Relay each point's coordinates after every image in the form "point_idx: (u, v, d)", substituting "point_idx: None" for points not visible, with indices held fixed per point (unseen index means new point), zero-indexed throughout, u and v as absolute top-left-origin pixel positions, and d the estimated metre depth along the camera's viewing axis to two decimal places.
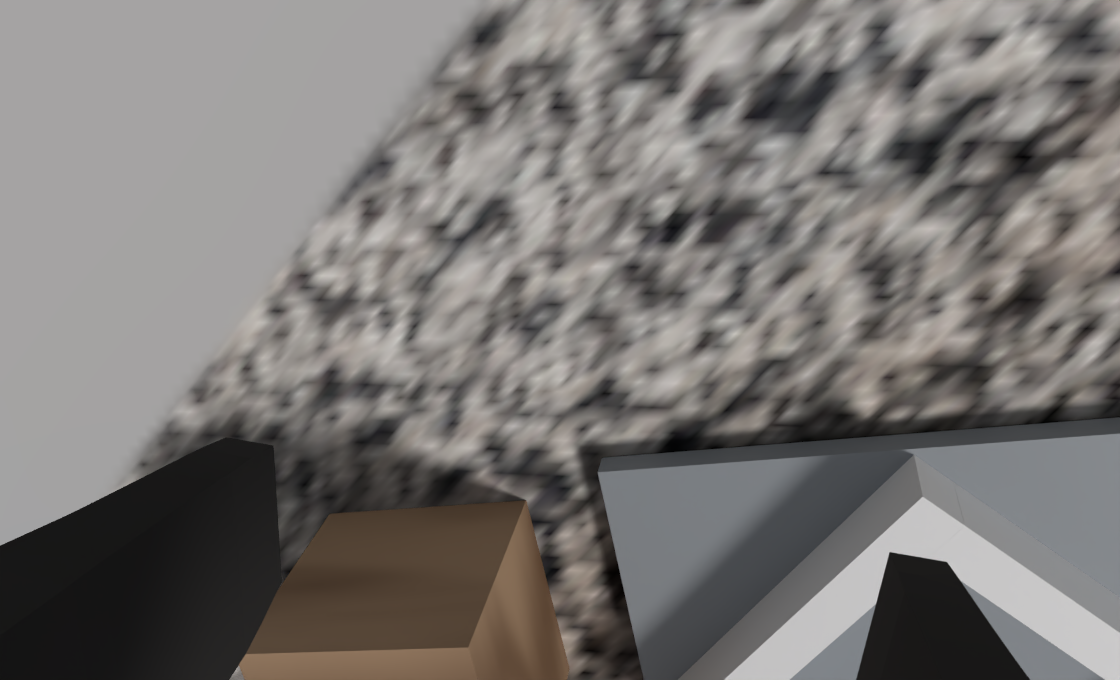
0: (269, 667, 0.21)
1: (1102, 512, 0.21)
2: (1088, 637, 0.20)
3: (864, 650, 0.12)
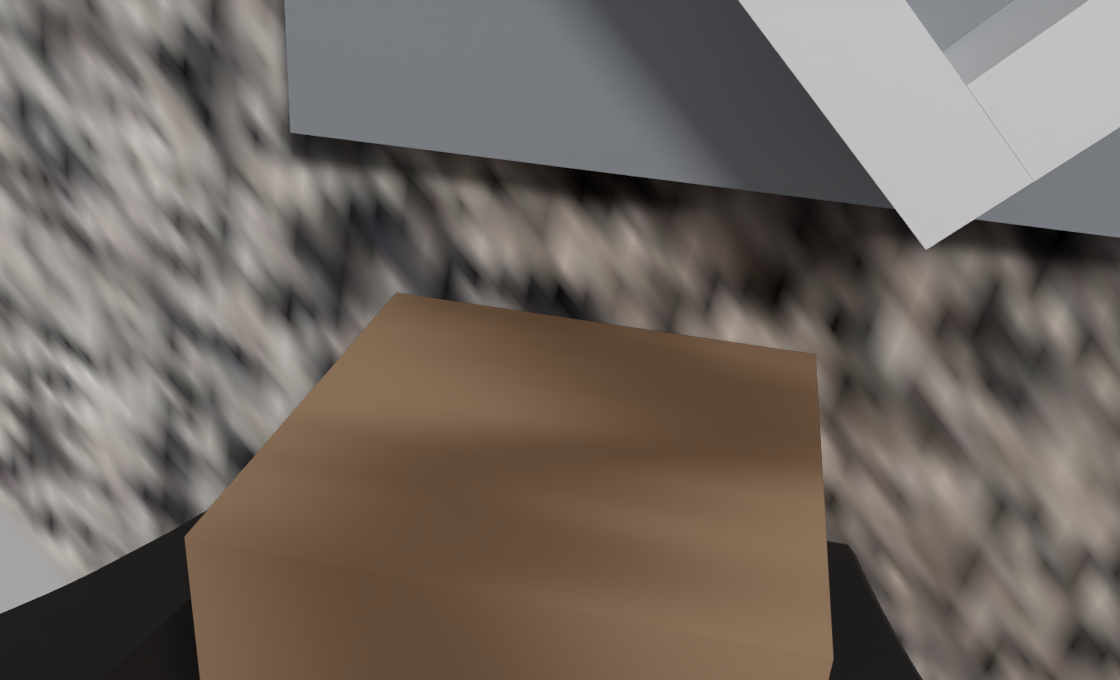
0: None
1: None
2: None
3: None
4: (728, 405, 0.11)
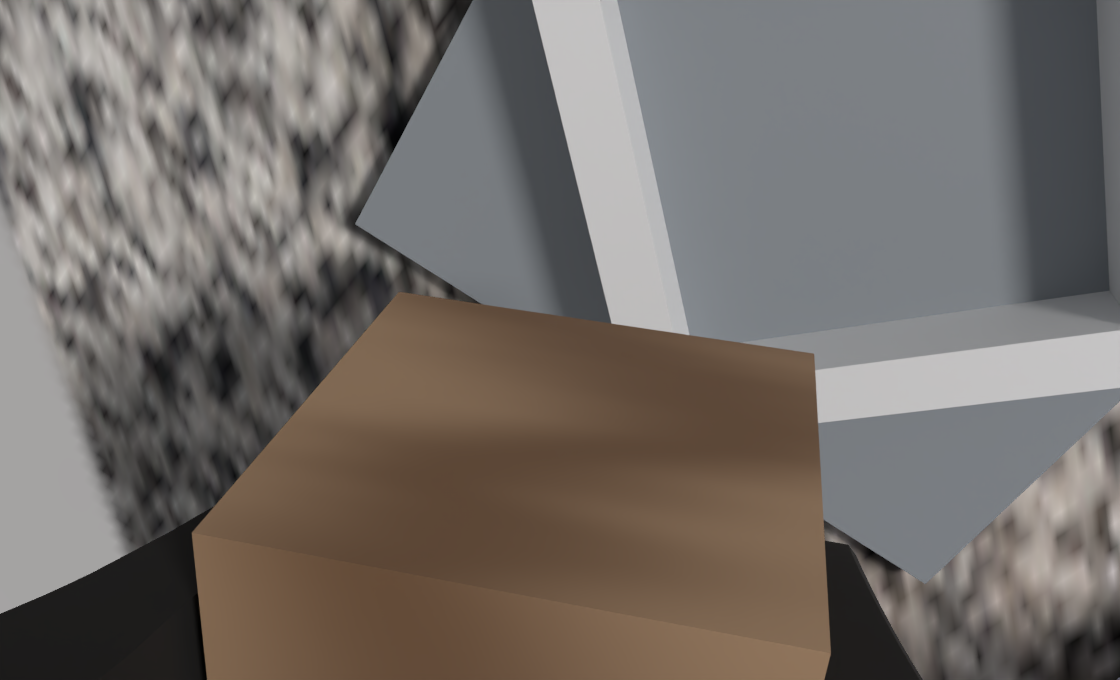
0: None
1: None
2: None
3: None
4: (727, 403, 0.11)
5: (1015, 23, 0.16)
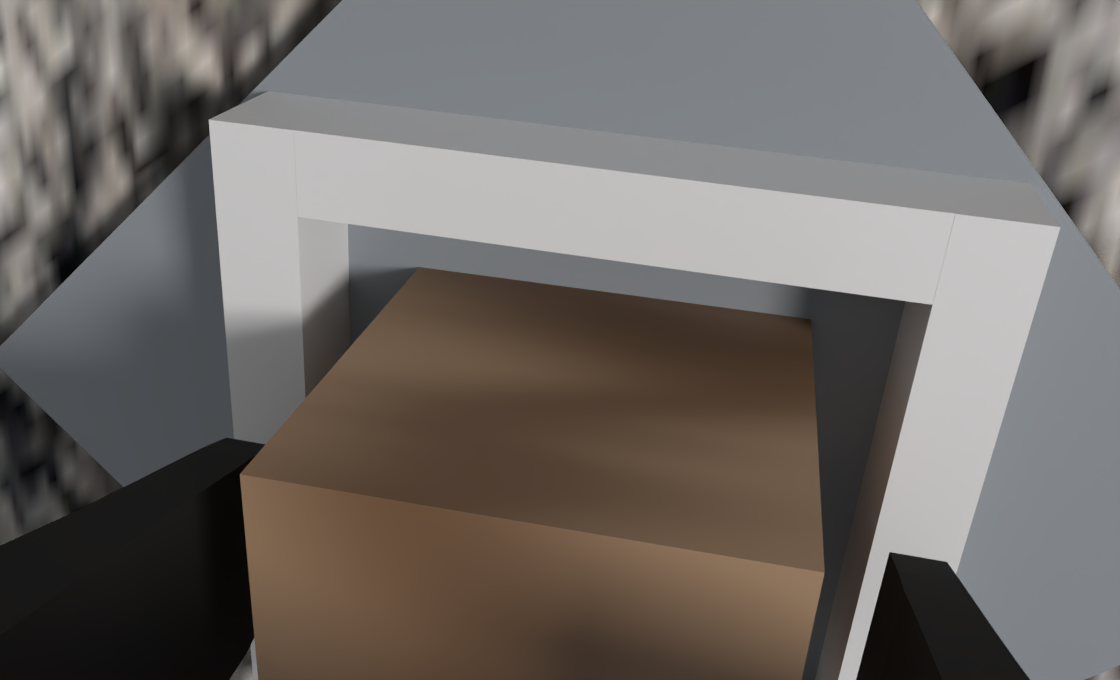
0: None
1: (560, 13, 0.12)
2: (600, 210, 0.11)
3: (864, 650, 0.12)
4: (729, 363, 0.12)
5: None
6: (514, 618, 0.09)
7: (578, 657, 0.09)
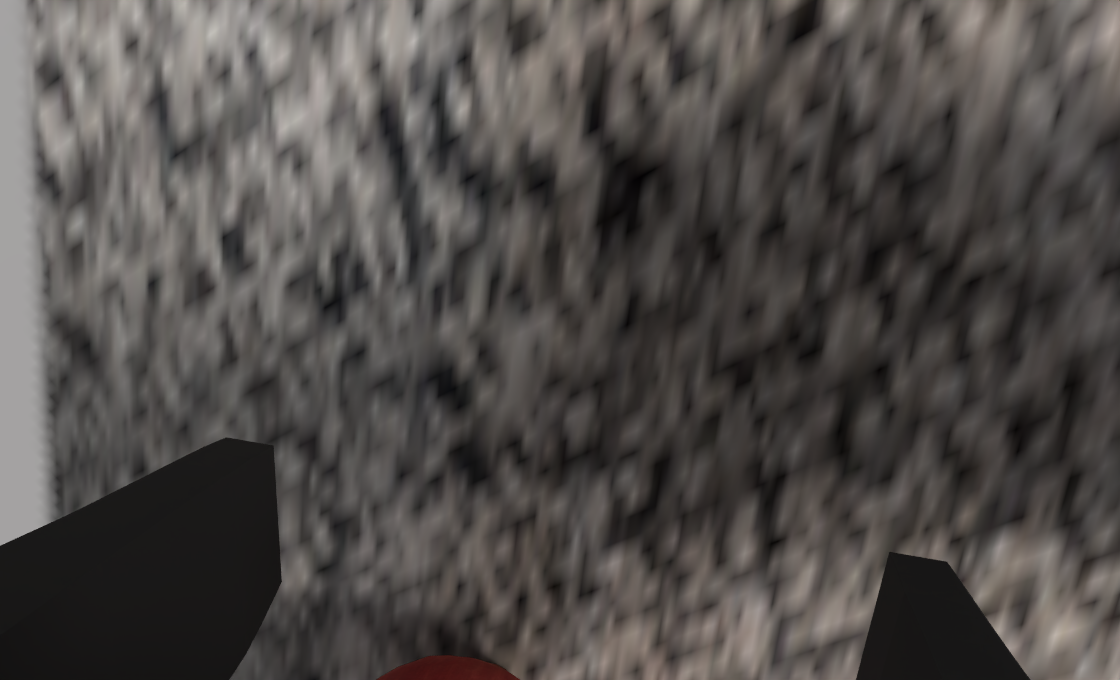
0: None
1: None
2: None
3: (864, 650, 0.12)
4: None
5: None
6: None
7: None
